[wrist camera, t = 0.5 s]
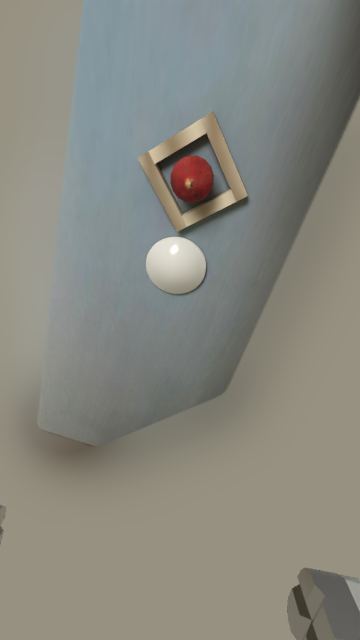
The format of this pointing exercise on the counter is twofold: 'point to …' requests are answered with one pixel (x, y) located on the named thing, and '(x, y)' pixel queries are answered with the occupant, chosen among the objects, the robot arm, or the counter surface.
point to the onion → (192, 179)
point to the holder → (224, 158)
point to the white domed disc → (176, 265)
